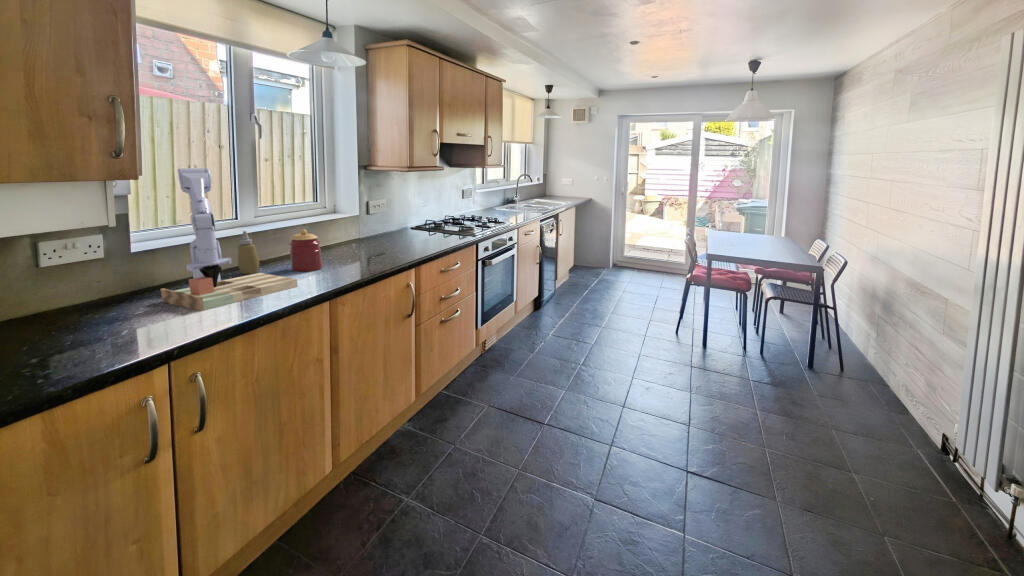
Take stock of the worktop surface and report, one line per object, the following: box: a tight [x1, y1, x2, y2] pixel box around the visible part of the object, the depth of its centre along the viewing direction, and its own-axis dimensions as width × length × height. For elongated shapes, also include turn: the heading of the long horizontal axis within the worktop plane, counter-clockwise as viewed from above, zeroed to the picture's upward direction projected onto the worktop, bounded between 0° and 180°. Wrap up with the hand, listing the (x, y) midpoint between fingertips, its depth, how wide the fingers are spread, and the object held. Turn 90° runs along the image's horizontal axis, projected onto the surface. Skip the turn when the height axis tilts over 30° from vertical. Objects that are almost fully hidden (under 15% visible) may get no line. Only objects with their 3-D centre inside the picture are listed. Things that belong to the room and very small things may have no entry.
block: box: [188, 277, 214, 296], centre depth 169 cm, size 5×5×5 cm
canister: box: [288, 229, 323, 273], centre depth 220 cm, size 13×13×18 cm
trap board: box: [160, 272, 299, 312], centre depth 180 cm, size 22×37×4 cm, turn 152°
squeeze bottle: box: [237, 230, 260, 275], centre depth 211 cm, size 8×8×18 cm
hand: (213, 287), depth 174 cm, fingers closed
